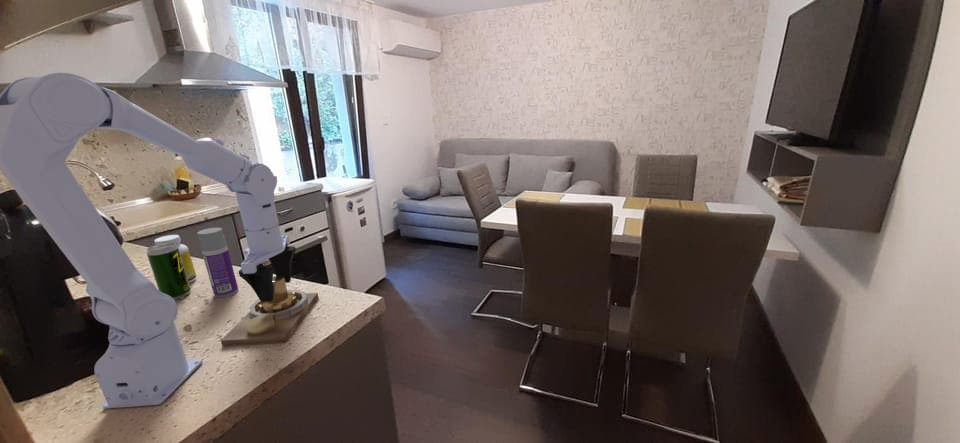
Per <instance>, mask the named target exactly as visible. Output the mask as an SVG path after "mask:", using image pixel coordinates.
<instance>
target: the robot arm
mask: <svg viewBox="0 0 960 443" xmlns="http://www.w3.org/2000/svg"><path fill="white" fill-rule="evenodd" d="M97 129H98V130H114V131H116V130H117V131H121V132H124V133H127V134H129V135H131V136H133V137H136V138H138V139H141V140H142V141H145V142H147V143H150V144H152V145H155V146H157V147H158V148H161V149H163V150H167V151H169V152H171V153H173V154H175V155H178V156H181V157H182V159H183V161H184V164H185V165H186V167H187V169H189V170H191V171H193V172H196V173H198V174H200V175H202V176H204V177H206V178H209V179H211V180H214V181H216V182H218V183H220V184H223V185H225V187H226V188H227V189H228V191H229V192H232V193H233V192H234V193H235V196H236V201H237V205H238V210H239V213H240V217H241V221H242V222H241V223H242V226H243V229H244V234H245V236H246V237H245V238H246V242H247V246H248V247H247V248H246V249H244V250H243V254H244V255H246V257H245V258H244V260H243V261H242V262H241V263H240V267H241V268H240V269H239V270H238V275H239V277H240V278H241V279H243V280H244V281H245V282H246V283H247V284H248V285H249V286H250V288H252V290H253V291H254V294H255V295H256V297H257V298H258V299H260V301H261V302H267V301H272V300H273V297H274V293H273V284H272V281H273V277H274V274H275V276H282V277H284V278H285V283H286V284H288V283H290V282H291V279H292V266H293V260H294V256H295V253H296V250H297V248H296V246H294V245H291V242H290V237H289V235H286V234H285V235H282V233H281V232H282V231H281V228H280V227H281V226H280V223H279V219H278V213H277V210H276V209H277V208H276V205H275V200H276V198H275V190H276V187H277V184H278V176H277V175H274V173H273V171H272V170H271V168H269V166H267V165H266V164H263V163H255V162H252V161H251V160H250V156H248V155H247V154H239V153H237V152H236V151H235V150H232V149H230V148H228V147H226V146H224V145H225V141H223V140H221V139H219V138H210V137H201V138H197V139H195V138H194V137H192V136H190V135H189V134H187V133H185V132H184V131H182V130H180V129H178V128H177V127H175V126H173V125H171V124H170V123H168V122H166V121H164V120H162V119H160V118H159V117H158V116H156V115H154V114H152V113H150V112H148V111H147V110H145V109H143V108H142V107H140V106H138V105H137V104H134V103H133V102H131V101H130V100H128V99H126V98H125V97H124V96H122V95H120V94H119V93H117V92H116V91H113V90H111V89H108V88H106V87H104V86H98V85H97V84H96V83H94V81H91V80H90V79H88V78H86V77H83V76H82V75H79V74H76V73H75V74H74V73H70V72H53V73H50V74H46V75H43V76H38V77H36V76H34V77H33V76H31V77H30V76H29V77H28V76H27V77H23V78H18V79H15V80H13V81H12V82H11V83H9V85H7V86H6V88H4V89H3V91H1V93H0V172H1V174H2V175H3V176H4V178H5V180H7V182H8V183H9V185H11V187H12V188H13V189H14V190H15V192H16V193H17V195H18V196H19V197H20V198H21V200H22V201H23V202H24V203H25V205H26V207H28V209H29V210H30V211H31V213H32V214H33V215H34V217H35V218H36V219H37V220H38V222H39V223H40V225H41V226H42V227H43V228H44V230H45V231H46V232H47V233H48V235H49V236H50V238H51V239H52V240H53V241H54V243H55V244H56V245H57V247H58V248H59V250H60V251H61V252H62V253H63V254H64V256H65V257H66V258H67V260H68V261H69V263H70V264H71V265H72V267H74V269H75V270H76V271H77V272H78V274H79V275H80V276H81V278H82V279H83V281H84V282H85V283H86V285H85V292H86V293H87V295H88V296H89V298H90V299H91V312H92V316H93V317H94V318H95V320H97V321H98V322H99V323H102V324H104V325H106V326H107V325H108V327H109V330H108V337H107V339H108V342H109V344H108V348H107V349H106V351H105V353H104V354H103V355H102V356H101V357H100V358H99V359H98V360H97V361H96V362H95V364H94V368H93V369H94V371H93V372H94V375H95V377H96V380H97V382H98V384H99V387H100V390H101V391H102V394H103V396H104V399H105V402H103V404H102V408H103V409H115V408H117V409H118V408H129V407H130V408H131V407H132V408H133V407H144V406H147V407H149V406H158V405H161V404H162V403H163V402H165V400H166V399H167V398H168V397H169V396H170V395H171V394H172V393H174V391H175V390H176V389H177V388H179V386H180V385H182V383H183V382H185V380H186V379H187V378H189V377H190V376H191V375H192V373H193V372H194V371H195V370H196V369H197V368H198V367H199V366H200V365H201V364H202V363H203V362H204V360H203V359H202V358H193V359H187V357H186V354H185V351H184V347H183V344H182V342H181V338H180V335H179V332H178V329H177V326H176V324H175V320H176V318H177V315H178V310H179V309H178V304H177V302H176V300H174V299H173V298H172V297H170V296H169V295H166V294H164V293H162V292H160V291H159V289H158V287H157V286H156V285H155V283H154V282H153V281H151V280H150V279H149V278H148V277H147V276H146V275H144V274H143V273H142V272H141V271H140V270H139V269H137V267H136V266H135V265H134V263H133V261H132V260H131V259H130V257H129V255H128V254H127V253H126V251H125V250H124V248H123V247H122V245H121V244H120V243H119V241H118V240H117V238H116V236H115V235H114V233H113V232H112V230H111V229H110V228H109V225H107V223H106V222H105V220H104V218H103V217H102V216H101V214H100V212H99V211H98V210H97V208H96V207H95V205H94V204H93V203H92V201H91V199H90V198H89V196H88V195H87V193H86V192H85V190H84V189H83V188H82V185H80V183H79V181H78V180H77V179H76V177H75V175H74V174H73V172H72V171H71V169H70V168H69V167H68V165H67V164H66V160H67V159H68V157H69V155H70V154H71V152H72V151H73V149H74V148H75V146H76V145H77V143H78V142H79V140H80V139H81V138H83V137H84V136H86V135H87V134H88V133H90V132H92V131H93V130H97ZM289 245H291V246H289ZM266 261H269V262H270V265H271V267H270V266H269V267H267V266H266V265H264V263H265V262H266Z"/></svg>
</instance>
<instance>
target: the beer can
mask: <svg viewBox="0 0 960 443" xmlns="http://www.w3.org/2000/svg"><path fill="white" fill-rule="evenodd" d="M146 251H147V252H146V257H147V258H148V262H149V265H150V267H151V268H150V269H151V271H152V274H153V276H154V279H155V283H156V285H157V286H156V287H157V289H158V290H159V291H160V292H162V293H164V294H166V295H169V296H170V297H172V298H173V299H174V300H175V301H176V300H179V299H182V298H185V297H186V296H188V295H189V294H190V292H191V290H192V289H191V288H192V287H191V286H190V283H189V281H188V278H187V275H186V272H185V268H184V265H183V262H182V258H181V255H180V252H179V249H178V247H177V246H176V243H174V242H168V243H161V244H157V245H155V244H153V245H151V246H149V247H147V248H146Z"/></svg>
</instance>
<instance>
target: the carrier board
mask: <svg viewBox="0 0 960 443" xmlns="http://www.w3.org/2000/svg"><path fill="white" fill-rule="evenodd" d="M287 291H288V292H295V293H296V297H297V305H295V306H293V307H291V308H289V309H287V310H284V311H280V312H277V313H267V314H262V313H260V310H259V306H258V305H260V304H259V301H260V299H259V298H258V299H257V300H256V301H254V302H253V303H252V304H251V305H250V307H249V310H250V311H249V312H248V313H246V315H245V316H243V318H241V320H239V322H238V323H237V324H236V325H235V326H234V327H233V328H232V329H230V331H229V332H228V333H227V334H226V335H225V336H224V337H223V338H222V339H221V340H220V343H221V346H222V347H230V346H231V347H233V346H247V345H248V346H250V345H263V344H264V345H266V344H278V343H279V344H280V343H282V344H283V343H287V342H288V340H289V339H290V338H291V336H292V334H294V332H295V330H296V329H297V328H298V326H299V325H300V324H301V322H302V321H303V320H304V318H305V317H306V315H307V314H308V313H309V311H310V310H311V309H312V307H313V306H314V305H315V303H316V302H317V300H318V298H319V294H318V292H305V291H303V290H302V291H301V290H298V289H287Z"/></svg>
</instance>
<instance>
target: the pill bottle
mask: <svg viewBox="0 0 960 443" xmlns="http://www.w3.org/2000/svg"><path fill="white" fill-rule="evenodd" d="M181 240H182V239H181V237H180V235H179V234H168V235H163V236H159V237H158V238H157V237H156V239H154V241H153V242H154V245H157V244H161V243H168V242H174V243H176V246H177V247H178V249H179V252H180V255H181V258H182V262H183V265H184V268H185V272H186V275H187V278H188V281H189V284H190V283H193V282H194V281H195V280H196V279H197V273H196V271H195V267H194V266H195V265H194V264H193V260H192V256H191V254H190V251H189V247H188V246H187V245H185V244H183V243H182V244H181Z"/></svg>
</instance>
